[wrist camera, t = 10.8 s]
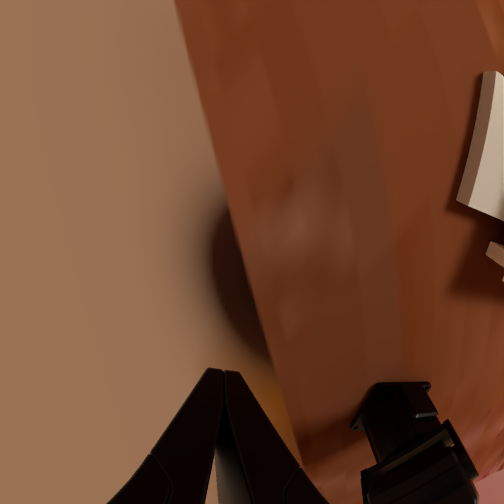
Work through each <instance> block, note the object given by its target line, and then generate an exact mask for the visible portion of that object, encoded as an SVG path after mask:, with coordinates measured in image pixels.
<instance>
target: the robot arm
mask: <svg viewBox="0 0 504 504" xmlns="http://www.w3.org/2000/svg"><path fill="white" fill-rule="evenodd" d="M430 388H431V384H430V383H429V382H403V383H379V384H377V385H376V386H375V387H374V389H373V390H372V392H371V394H370V395H369V397H368V399H367V400H366V402H365V403H364V405H363V407H362V408H361V410H360V411H359V413H358V414H357V416H356V417H355V419H354V420H353V422H352V423H351V425H350V428H351V430H352V431H362V430H365V432H366V434H367V437H368V440H369V443H370V445H371V448H372V451H373V454H374V456H375V459H376V462H377V464H376V465H374V466H372V467H370V468H368V469H364V470H362V471H361V486H362V495H363V504H478V502H479V494H478V492H477V490H476V488H475V486H474V484H473V482H472V480H474V479H475V478H477V477H478V476H479V474H478V472H477V470H476V468H475V466H474V464H473V462H472V460H471V458H470V456H469V454H468V452H467V451H466V449H465V447H464V445H463V443H462V442H461V440H460V438H459V436H458V434H457V433H456V431H455V429H454V428H453V426H452V425H451V423H450V421H449V420H448V419H447V420H446V421H444V422H443V424H442V425H441V423H440V421H439V420H438V418H437V415H438V412H437V410H436V408H435V406H434V405H433V403H432V401H431V399H430V398H429V396H428V394H427V392H428V391H429V389H430ZM453 444H454V446H452V447H451V445H453ZM214 454H215V466H216V477H217V490H218V501H219V504H329V503H328V501H327V500H326V499H325V498H324V497H323V496H322V495H321V494H320V492H319V491H318V490H317V488H316V487H315V486H314V485H313V483H312V482H311V481H310V479H309V478H308V477H307V475H306V474H305V472H304V471H303V469H302V468H299V467H300V465H299V464H298V462H297V461H296V459H295V458H294V457H293V455H292V453H291V452H290V451H289V449H288V448H287V446H286V445H285V443H284V442H283V440H282V439H281V437H280V436H279V434H278V433H277V431H276V429H275V428H274V427H273V425H272V423H271V422H270V420H269V419H268V417H267V416H266V414H265V413H264V411H263V409H262V408H261V406H260V405H259V403H258V401H257V400H256V398H255V397H254V395H253V393H252V392H251V390H250V389H249V387H248V385H247V384H246V382H245V380H244V379H243V377H242V375H241V374H240V373H239V372H237V371H230V370H224V371H222V370H221V369H216V368H207V369H206V371H205V372H204V374H203V375H202V377H201V378H200V380H199V381H198V383H197V384H196V386H195V387H194V389H193V390H192V392H191V393H190V394H189V396H188V397H187V399H186V401H185V402H184V403H183V405H182V407H181V408H180V409H179V411H178V412H177V414H176V415H175V417H174V418H173V420H172V421H171V423H170V424H169V426H168V427H167V428H166V430H165V431H164V433H163V434H162V436H161V437H160V439H159V440H158V442H157V443H156V444H155V446H154V447H153V449H152V450H151V452H150V454H148V456H147V457H146V458H145V460H144V461H143V463H142V464H141V466H140V467H139V468H138V469H137V471H136V472H135V473H134V475H133V476H132V477H131V478H130V480H129V481H128V482H127V483H126V484H125V485H124V486H123V487H122V488H121V489H120V491H119V492H118V493H117V494H116V495H115V496H114V497H113V498H112V499H111V500H110V501H109V502H108V503H107V504H205V500H206V495H207V490H208V484H209V479H210V474H211V469H212V464H213V459H214Z"/></svg>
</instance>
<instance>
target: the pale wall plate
mask: <svg viewBox="0 0 504 504" xmlns="http://www.w3.org/2000/svg"><path fill="white" fill-rule="evenodd" d="M456 201H458V202H461V203H463V204H465V205H467V206H469V207H472V208H474V209H477V210H479V211H481V212H484V213H486V214H489V215H491V216H493V217H495V218H498V219H500V220H502V221H504V76H502V75H501V74H500V73H498V72H497V71H488V72H483V80H482V87H481V94H480V100H479V106H478V112H477V117H476V122H475V127H474V132H473V137H472V141H471V146H470V150H469V154H468V158H467V162H466V166H465V170H464V174H463V177H462V181H461V185H460V188H459V191H458V195H457V198H456Z"/></svg>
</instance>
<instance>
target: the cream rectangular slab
mask: <svg viewBox="0 0 504 504" xmlns="http://www.w3.org/2000/svg"><path fill="white" fill-rule="evenodd" d="M485 255H487V256H488V257H489V258H491V259H492V260H494V261H495V262H497V263H498V264H499V265H501V266H502V267H504V246H503V245H500V244H498V243H495V242H492V241H490V244H489V246H488V249H487V252H486V254H485ZM502 281H503V282H504V277H503V279H502Z"/></svg>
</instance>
